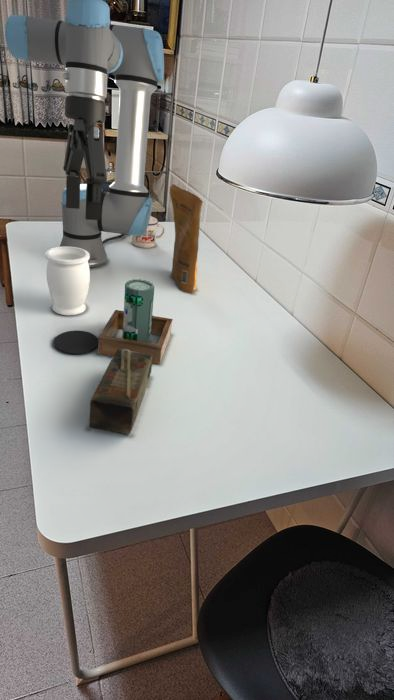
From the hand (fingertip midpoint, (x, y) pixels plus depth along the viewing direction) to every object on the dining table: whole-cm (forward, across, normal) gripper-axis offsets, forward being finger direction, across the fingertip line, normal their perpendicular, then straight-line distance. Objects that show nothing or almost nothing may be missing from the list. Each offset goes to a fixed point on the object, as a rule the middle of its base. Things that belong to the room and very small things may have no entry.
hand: (82, 213), depth 97 cm
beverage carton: (+32, +23, +2) cm, 39 cm away
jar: (+27, -17, +3) cm, 32 cm away
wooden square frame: (+28, +4, +12) cm, 31 cm away
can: (+29, +4, +12) cm, 32 cm away
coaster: (+29, 0, 0) cm, 29 cm away
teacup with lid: (+19, -60, +43) cm, 76 cm away
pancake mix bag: (+23, -25, +39) cm, 52 cm away
